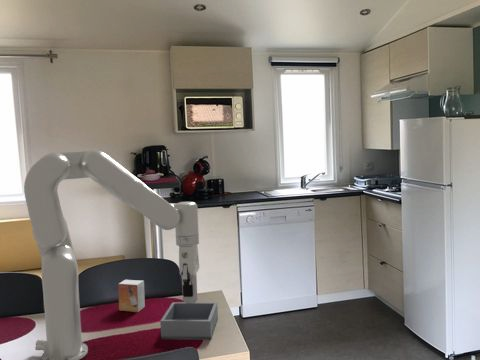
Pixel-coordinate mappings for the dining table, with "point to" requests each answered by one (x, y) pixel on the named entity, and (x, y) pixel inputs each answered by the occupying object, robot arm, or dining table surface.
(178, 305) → the box
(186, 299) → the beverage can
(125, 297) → the small box
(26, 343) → the dining table surface
